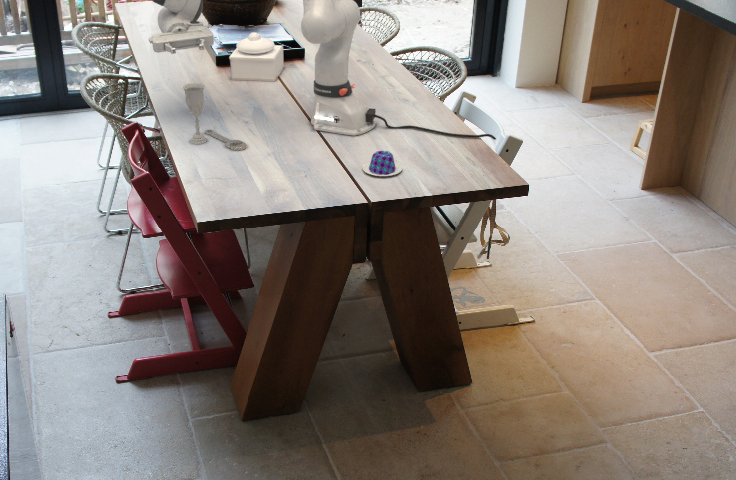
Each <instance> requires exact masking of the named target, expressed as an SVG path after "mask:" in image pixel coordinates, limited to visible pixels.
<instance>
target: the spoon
mask: <svg viewBox="0 0 736 480" xmlns="http://www.w3.org/2000/svg"><path fill="white" fill-rule="evenodd" d="M205 135H209V136H211V137H213V138H215V139H217V140H219V141H220V142H223V143H225V145H226V147H227V148H228V149H230V150H233V151H242V150H245V149H246V148H247V143H246V142H245V141H242V140H241V139H229V138H228V137H225V136H223V135H221V134H219V133H218V132H215V131H214V130H212V129H206V130H205Z"/></svg>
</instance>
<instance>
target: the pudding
mask: <svg viewBox="0 0 736 480" xmlns="http://www.w3.org/2000/svg"><path fill="white" fill-rule="evenodd" d="M370 159H371V160H370V161H367V162H366V163H364V164H363V165H362V170H363V172H365V173H366V174H368V175H372V176H376V177H389V176H395V175H397V174H399V173H401V172H402V170H403V166H402V165H401V164H400V163H399V162H397V161H395V159H394V155H393V153H392V152H390V151H388V150H377V151H375V152H374V153H373V154H372V155H371V158H370Z"/></svg>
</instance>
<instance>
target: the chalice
mask: <svg viewBox="0 0 736 480" xmlns="http://www.w3.org/2000/svg"><path fill="white" fill-rule="evenodd" d="M182 89H183V91H184V97H185V104H186V106H187V109H188V110H189V112H190V114H191V115H192V116H194V118H195V119H194V123H195V126H194V129H195V131H196V132H195V133H193V135H192V137H191V141H190V142H191V144H195V145H203V144H205V143H206V142H207V139H206V137H205V135H204V134H203V132H201V131H200V128H201V126H200V124H199V123H200V120H199V115H201V113H202V111H203V108H204V104H205V97H204V96H205V95H204V89H205V84H203V83H199V82H191V83H187V84H184V85H183V86H182Z"/></svg>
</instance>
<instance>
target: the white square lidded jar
mask: <svg viewBox="0 0 736 480" xmlns="http://www.w3.org/2000/svg"><path fill="white" fill-rule="evenodd" d="M235 46H236V48H235V49H234V51H233V52H232V53H231V54H230V55H229V57H228V59H229V64H230V80H231V81H257V82H258V81H261V82H276V80H277V79H278V77H279V76H280V74H281V72H282V71H283V69H284V67H285V66H284V65H285V63H284V61H285V60H284V46H283V45H277V44H275V43H274V41H273V40H272V39H270V38H267V37H264V36H261V35H260V34H259V33H258V32H255V31H253V32H250V33H249V34H248V36H247V37H246V38H243V39H241V40H239V41H237V43H236V45H235Z"/></svg>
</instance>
